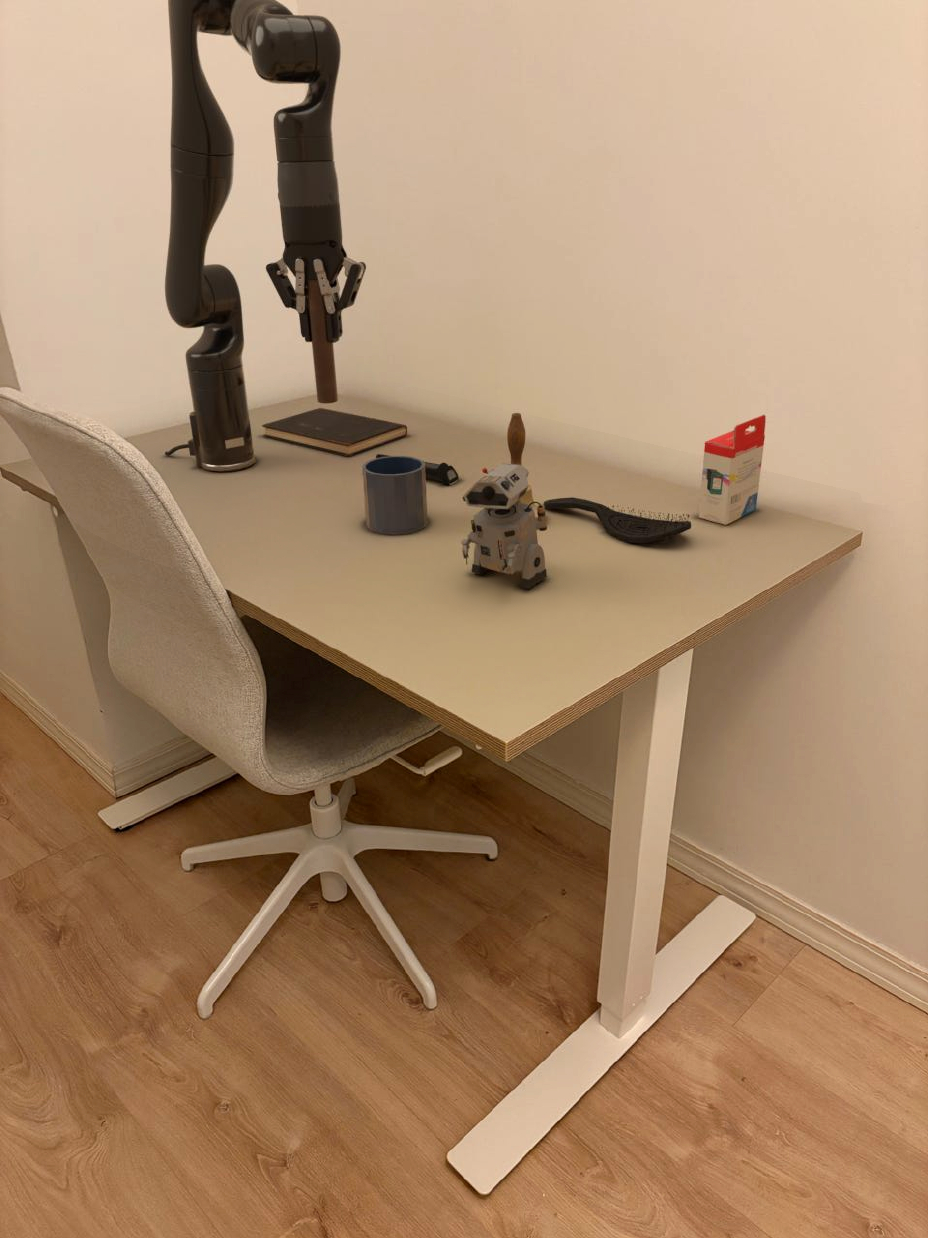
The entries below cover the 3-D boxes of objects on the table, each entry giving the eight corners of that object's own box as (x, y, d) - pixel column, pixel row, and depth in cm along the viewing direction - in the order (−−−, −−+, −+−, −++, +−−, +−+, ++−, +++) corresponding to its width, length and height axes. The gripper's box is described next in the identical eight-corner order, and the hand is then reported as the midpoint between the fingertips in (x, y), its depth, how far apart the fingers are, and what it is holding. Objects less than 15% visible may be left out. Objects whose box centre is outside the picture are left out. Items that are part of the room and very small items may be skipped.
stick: (314, 403, 132) (302, 280, 125) (322, 398, 135) (311, 277, 128) (333, 403, 132) (322, 280, 125) (341, 398, 134) (330, 277, 127)
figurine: (444, 590, 123) (440, 477, 116) (497, 560, 131) (496, 452, 124) (503, 608, 118) (503, 490, 111) (554, 575, 126) (556, 464, 119)
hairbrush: (562, 481, 150) (704, 510, 134) (562, 504, 152) (703, 535, 136) (527, 495, 145) (670, 527, 129) (528, 518, 147) (670, 553, 131)
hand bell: (479, 516, 146) (477, 411, 139) (529, 507, 149) (529, 404, 142) (503, 534, 139) (502, 425, 132) (554, 524, 142) (556, 417, 135)
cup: (357, 532, 141) (352, 473, 137) (379, 510, 149) (375, 454, 145) (416, 537, 139) (413, 477, 135) (435, 515, 147) (432, 457, 143)
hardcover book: (348, 456, 174) (347, 444, 173) (263, 436, 187) (261, 424, 186) (407, 435, 185) (407, 423, 184) (323, 418, 198) (322, 406, 197)
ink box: (728, 503, 148) (738, 408, 142) (757, 510, 145) (768, 413, 138) (696, 518, 143) (705, 420, 136) (726, 526, 140) (736, 426, 133)
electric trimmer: (385, 467, 169) (383, 449, 167) (460, 480, 161) (459, 461, 160) (372, 473, 166) (370, 455, 164) (447, 486, 158) (447, 468, 157)
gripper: (372, 198, 123) (381, 337, 131) (272, 199, 127) (287, 334, 135) (349, 202, 117) (360, 348, 125) (245, 203, 121) (262, 345, 128)
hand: (322, 340), depth 130 cm, fingers closed on stick, 2 cm apart
